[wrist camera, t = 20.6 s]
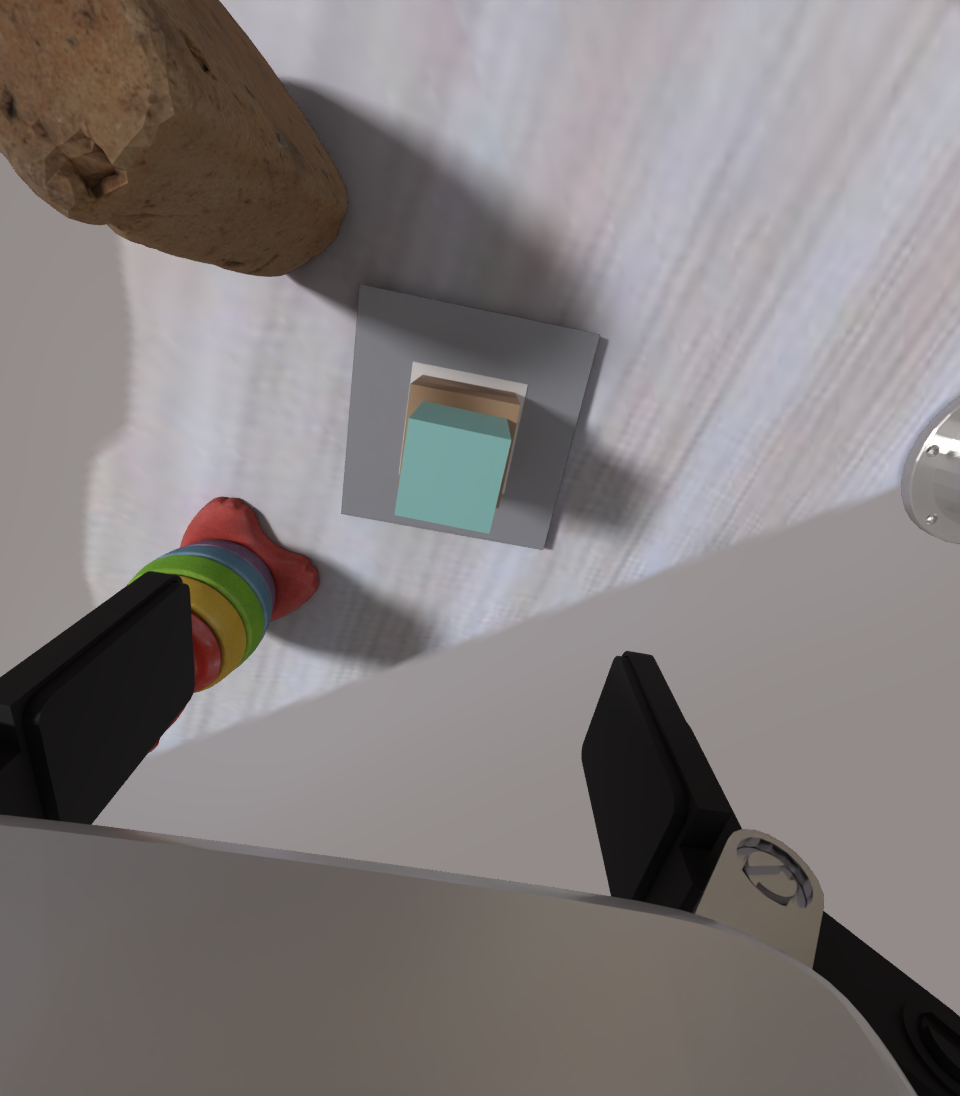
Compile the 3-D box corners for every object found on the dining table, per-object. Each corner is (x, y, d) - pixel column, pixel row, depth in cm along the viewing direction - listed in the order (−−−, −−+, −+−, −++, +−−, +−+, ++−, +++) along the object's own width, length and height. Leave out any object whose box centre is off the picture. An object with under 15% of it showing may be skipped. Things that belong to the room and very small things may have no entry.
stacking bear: (331, 577, 42) (233, 735, 26) (256, 643, 45) (125, 824, 29) (226, 484, 39) (39, 598, 23) (153, 562, 42) (-61, 713, 25)
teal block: (506, 418, 30) (511, 440, 24) (489, 497, 32) (489, 533, 26) (423, 400, 29) (408, 417, 24) (410, 481, 31) (394, 514, 26)
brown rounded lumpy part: (373, 229, 32) (221, 100, 14) (281, 294, 34) (33, 257, 15) (264, 32, 28) (-148, -509, 10) (165, 116, 30) (-348, -218, 11)
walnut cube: (515, 392, 35) (520, 405, 29) (497, 481, 37) (498, 508, 32) (422, 374, 34) (410, 383, 29) (410, 465, 37) (397, 490, 31)
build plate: (597, 334, 34) (600, 334, 33) (541, 545, 41) (543, 550, 40) (363, 285, 33) (359, 284, 32) (344, 509, 40) (340, 514, 39)
